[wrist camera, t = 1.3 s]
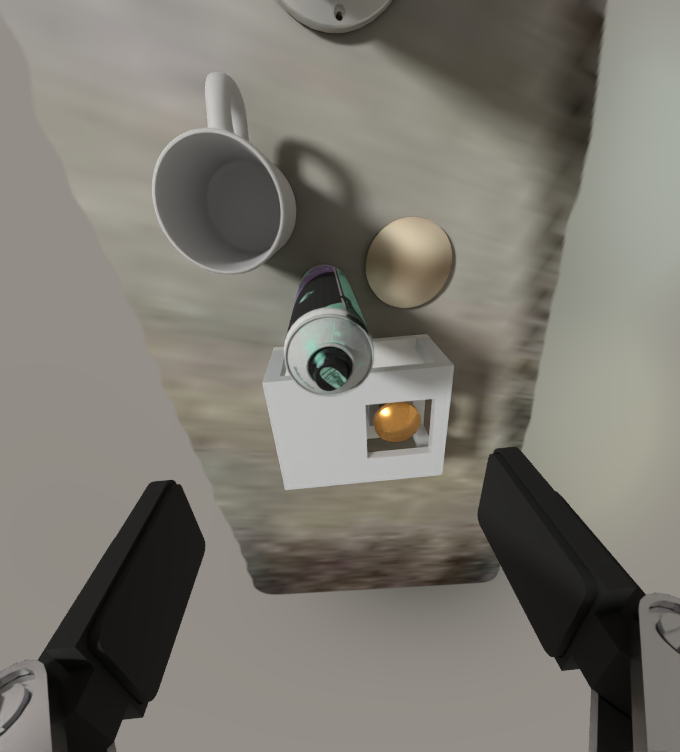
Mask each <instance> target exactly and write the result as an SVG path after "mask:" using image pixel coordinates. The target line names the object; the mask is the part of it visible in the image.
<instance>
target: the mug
mask: <svg viewBox="0 0 680 752" xmlns="http://www.w3.org/2000/svg"><path fill="white" fill-rule="evenodd" d="M205 99H206V110H207V120H208V128H199V129H193V130H190V131H187V132H185V133H183V134H181V135H179V136H178V137H176V138H175V139H174V140H172V141H171V142H170V143H169V144H168V145H167V146H166V148H165V149H164V150H163V152H162V153H161V155H160V157H159V159H158V161H157V163H156V166H155V170H154V174H153V180H152V197H153V204H154V208H155V212H156V215H157V218H158V221H159V223H160V225H161V227H162V229H163V231H164V233H165V234H166V236H167V238H168V239H169V240H170V242H171V243H172V244H173V246H174V247H175V248H176V249H177V250H178V251H179V252H180V253H181V254H182V255H183V256H185V257H186V258H187V259H188V260H190V261H191V262H193V263H194V264H196V265H198V266H199V267H201V268H203V269H206V270H209V271H211V272H215V273H219V274H241V273H245V272H249V271H252V270H254V269H256V268H258V267H259V266H261V265H262V264H264V263H265V262H266V261H267V260H268V259H270V258H271V257H272V256H273V255H274V254H275V253H276V252H277V251H278V250H279V249H280V248H282V247H283V246H284V245H285V243H286V242H287V241H288V239H289V238H290V236H291V234H292V232H293V229H294V226H295V222H296V202H295V197H294V194H293V191H292V189H291V186H290V184H289V182H288V181H287V179H286V177H285V176H284V175H283V173H282V172H281V171H280V170H279V169H278V168H277V167H276V166H275V165H274V164H272V163H271V162H270V161H269V160H268V159H267V158H266V157H265V156H264V155H263V154H262V153H261V152H260V151H259V150H258V149H257V148H256V147H254V146H253V145H252V144H251V143H250V142H249V138H248V127H247V118H246V111H245V106H244V101H243V98H242V95H241V92H240V90H239V88H238V86H237V84H236V83H235V82H234V80H233V79H232V78H231V77H230V76H229V75H227V74H225V73H222V72H212V73H210V74H209V75H208V76H207V79H206V83H205Z"/></svg>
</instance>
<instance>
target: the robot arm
mask: <svg viewBox="0 0 680 752" xmlns="http://www.w3.org/2000/svg"><path fill="white" fill-rule="evenodd" d="M277 1H278V2H279V4H280V5H281V6H282V7H283V9H285V10H286V11H287V12H288V13H289V14H290V15H292V16H293V17H294V18H295V19H296V20H297V21H299V22H301V23H303V24H304V25H306V26H308V27H310V28H312V29H315V30H318V31H322V32H326V33H346V32H349V31H353V30H357V29H359V28H361V27H363V26H365V25H366V24H368V23H370V22H372V21H373V20H374V19H376V18H377V17H378V16H379V15H380V14H381V13H382V12H383V11H384V10H386V9H387V7H388V6H389V5H390V3H391V2H392V1H393V0H277ZM337 15H341V16H342V20H341V21H339V20H337V19H336V16H337ZM478 521H479V524H480V526H481V528H482V530H483V532H484V534H485V536H486V538H487V540H488V542H489V544H490V546H491V547H492V549H493V551H494V553H495V555H496V557H497V559H498V561H499V563H500V565H501V567H502V569H503V571H504V573H505V575H506V576H507V579H508V580H509V582H510V584H511V586H512V588H513V590H514V592H515V594H516V596H517V598H518V600H519V602H520V604H521V606H522V608H523V609H524V612H525V613H526V615H527V617H528V619H529V621H530V623H531V625H532V627H533V629H534V631H535V633H536V635H537V637H538V639H539V641H540V642H541V645H542V646H543V648H544V650H545V651H546V653H547V654H548V655H549V656H551V657H555V659H556V661H557V663H558V665H559V667H560V669H561V670H562V671H564V670H574V669H580V670H581V672H582V673H583V675H584V677H585V679H586V680H587V682H588V684H589V686H590V687H591V707H590V731H589V752H680V598H677V597H674V596H671V595H668V594H662V593H652V594H647V595H646V594H645V593H644V592H643V591H642V590H641V588H640V587H639V586H638V585H637V584H636V583H635V582H634V580H633V579H632V578H631V577H630V576H629V574H628V573H627V572H626V571H625V570H624V569H623V567H622V566H621V565H620V564H619V563H618V562H617V560H616V559H615V558H614V557H613V556H612V554H611V553H610V552H609V551H608V550H607V549H606V547H605V546H604V545H603V544H602V543H601V542H600V540H599V539H598V538H597V537H596V536H595V535H594V533H593V532H592V531H591V530H590V529H589V528H588V527H587V525H586V524H585V523H584V522H583V521H582V519H580V517H579V516H578V515H577V514H576V513H575V511H574V510H573V509H572V508H571V507H570V505H569V504H568V503H567V502H566V501H565V500H564V498H563V497H562V496H561V495H560V494H559V493H558V492H556V491H554V490H553V488H552V487H551V486H550V485H549V484H548V482H547V481H546V480H545V479H544V478H543V477H542V475H541V474H540V473H539V472H538V471H537V469H536V468H535V467H534V466H533V465H532V463H531V462H530V461H529V460H528V459H527V458H526V456H525V455H524V454H523V453H522V452H521V450H519V449H518V448H517V447H508V448H498V449H495V450H494V453H493V454H490V455H489V458H488V463H487V468H486V473H485V478H484V483H483V488H482V493H481V498H480V503H479V508H478ZM204 552H205V541H204V538H203V535H202V533H201V531H200V529H199V526H198V524H197V521H196V519H195V517H194V514H193V512H192V509H191V507H190V505H189V502H188V500H187V498H186V495H185V493H184V491H183V488H182V486H181V485H180V484H176V482H175V481H173V480H166V481H155V482H151V483H150V484H149V485H148V486H147V488H146V489H145V491H144V493H143V494H142V496H141V498H140V499H139V501H138V502H137V504H136V505H135V507H134V509H133V510H132V512H131V513H130V515H129V517H128V518H127V520H126V522H125V523H124V525H123V526H122V528H121V530H120V531H119V533H118V534H117V536H116V537H115V539H114V540H113V541H112V543H111V544H110V546H109V547H108V549H107V551H106V552H105V554H104V555H103V557H102V559H101V560H100V562H99V563H98V565H97V567H96V568H95V570H94V571H93V573H92V575H91V576H90V578H89V579H88V581H87V583H86V584H85V586H84V587H83V589H82V590H81V592H80V594H79V595H78V597H77V599H76V600H75V602H74V603H73V605H72V606H71V608H70V610H69V611H68V613H67V614H66V616H65V618H64V619H63V621H62V622H61V624H60V626H59V627H58V629H57V631H56V632H55V634H54V635H53V637H52V638H51V640H50V642H49V643H48V645H47V646H46V648H45V650H44V651H43V653H42V654H41V656H40V657H39V659H38V660H24V661H21V662H19V663H15V664H13V665H11V666H10V667H8V668H6V669H4V670H2V671H1V672H0V752H116V747H115V742H114V740H115V738H116V735H117V732H118V730H119V727H120V725H121V722H122V720H124V719H133V718H142V717H143V716H144V713H145V710H146V707H147V705H148V702H149V701H152V700H153V699H154V698H155V696H156V694H157V692H158V689H159V687H160V683H161V681H162V678H163V675H164V672H165V669H166V666H167V663H168V660H169V657H170V654H171V651H172V648H173V645H174V642H175V639H176V636H177V633H178V630H179V627H180V624H181V621H182V618H183V615H184V612H185V609H186V606H187V603H188V600H189V597H190V594H191V591H192V588H193V585H194V582H195V579H196V576H197V574H198V571H199V567H200V565H201V562H202V559H203V556H204Z"/></svg>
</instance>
